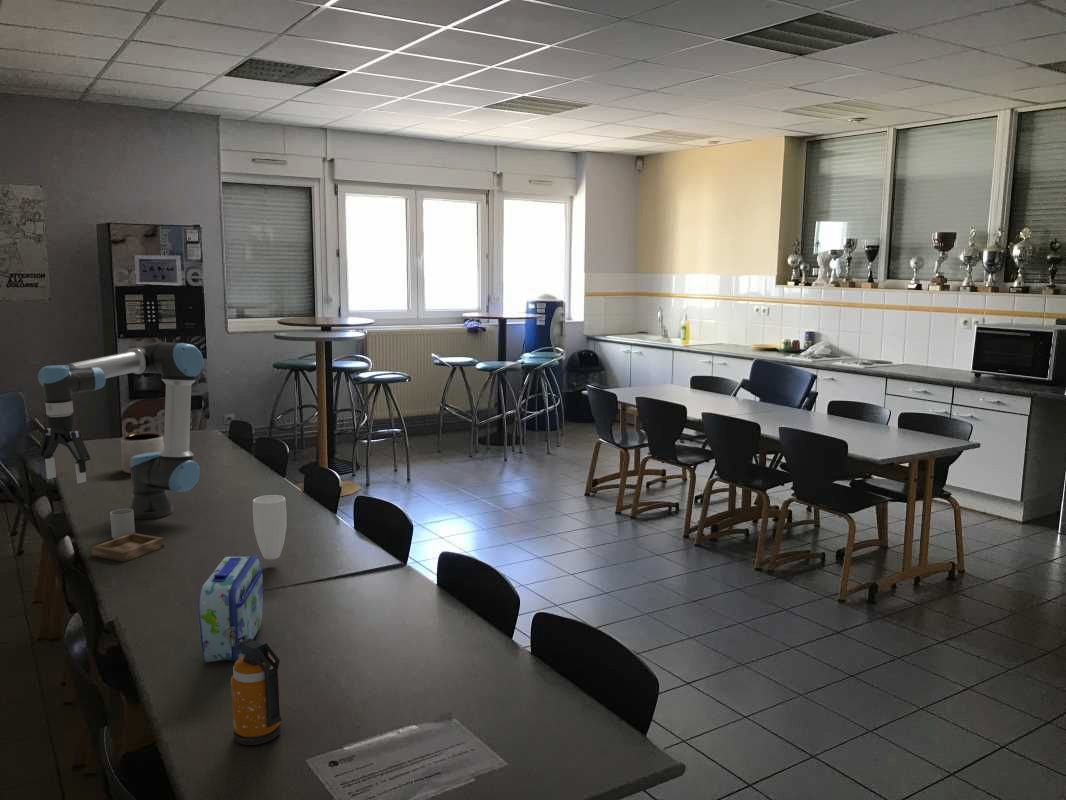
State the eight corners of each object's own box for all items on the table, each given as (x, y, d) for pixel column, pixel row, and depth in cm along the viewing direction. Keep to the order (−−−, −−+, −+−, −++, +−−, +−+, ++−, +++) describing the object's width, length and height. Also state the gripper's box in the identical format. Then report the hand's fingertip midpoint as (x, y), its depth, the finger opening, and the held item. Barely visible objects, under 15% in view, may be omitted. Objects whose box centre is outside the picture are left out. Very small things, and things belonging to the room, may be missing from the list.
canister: (262, 718, 176) (257, 628, 173) (297, 735, 170) (293, 641, 167) (224, 738, 169) (219, 644, 166) (260, 756, 163) (255, 659, 159)
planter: (155, 475, 377) (152, 440, 374) (115, 474, 377) (112, 440, 375) (172, 465, 394) (170, 432, 392) (134, 465, 395) (132, 432, 392)
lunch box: (244, 669, 198) (239, 583, 194) (196, 671, 197) (191, 585, 193) (269, 622, 223) (265, 546, 220) (227, 624, 222) (222, 547, 219)
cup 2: (296, 562, 268) (293, 496, 264) (276, 573, 258) (273, 505, 255) (268, 558, 271) (265, 493, 268) (247, 569, 262) (244, 501, 258)
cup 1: (112, 541, 288) (110, 516, 286) (111, 533, 296) (109, 508, 295) (135, 538, 291) (133, 513, 289) (134, 530, 300) (132, 505, 298)
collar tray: (133, 541, 288) (132, 532, 287) (164, 546, 282) (163, 537, 282) (92, 555, 273) (91, 546, 273) (124, 562, 268) (123, 552, 267)
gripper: (21, 414, 268) (28, 479, 272) (77, 419, 259) (84, 487, 262) (43, 409, 275) (49, 473, 279) (98, 415, 265) (104, 481, 269)
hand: (66, 480), depth 271 cm, fingers open, 13 cm apart
